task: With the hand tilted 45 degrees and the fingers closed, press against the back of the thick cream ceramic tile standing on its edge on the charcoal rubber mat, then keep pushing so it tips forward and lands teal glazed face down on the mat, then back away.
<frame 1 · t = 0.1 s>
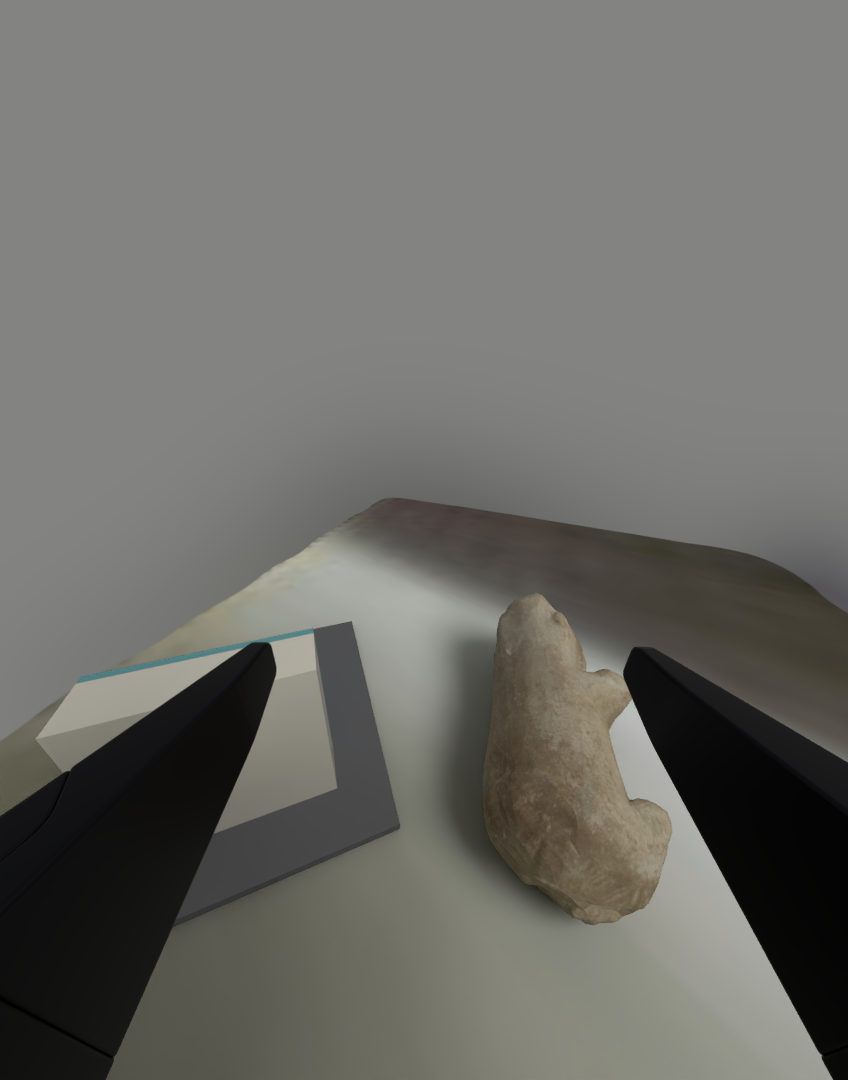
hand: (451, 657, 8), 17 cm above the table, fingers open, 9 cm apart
mat: (259, 728, 23), on the table
sculpture: (545, 753, 22), on the table
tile: (248, 792, 19), resting on mat
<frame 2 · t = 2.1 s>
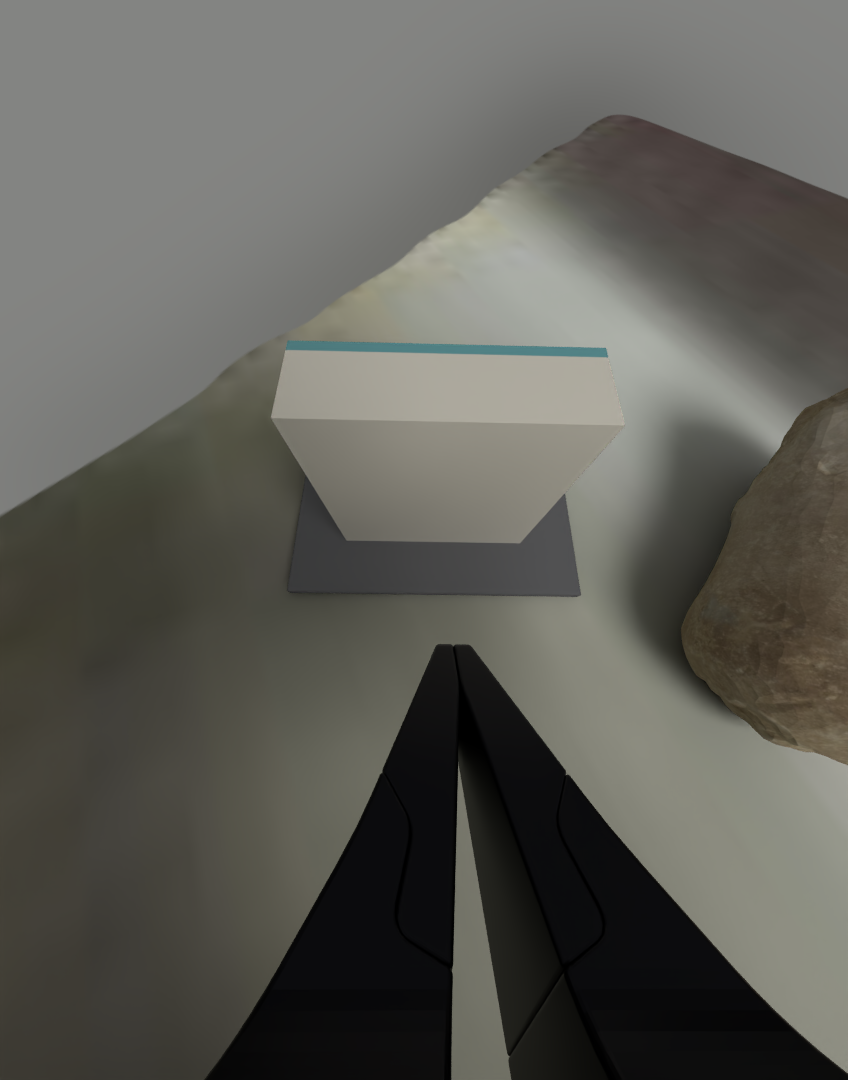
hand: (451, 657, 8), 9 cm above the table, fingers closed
mat: (434, 457, 21), on the table
sculpture: (751, 584, 19), on the table
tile: (433, 518, 19), resting on mat
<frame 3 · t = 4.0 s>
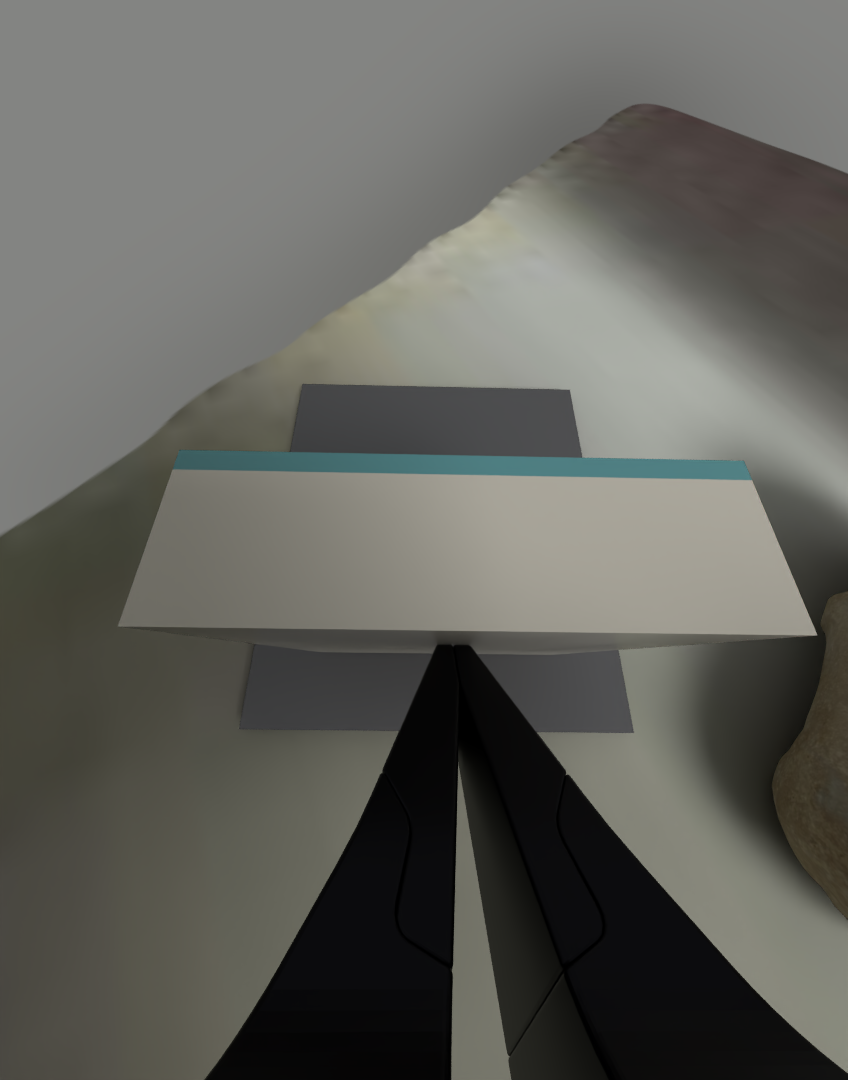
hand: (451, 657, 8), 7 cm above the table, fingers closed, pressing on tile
mat: (436, 529, 16), on the table
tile: (435, 618, 14), point 1 cm above the table, touching gripper, mat
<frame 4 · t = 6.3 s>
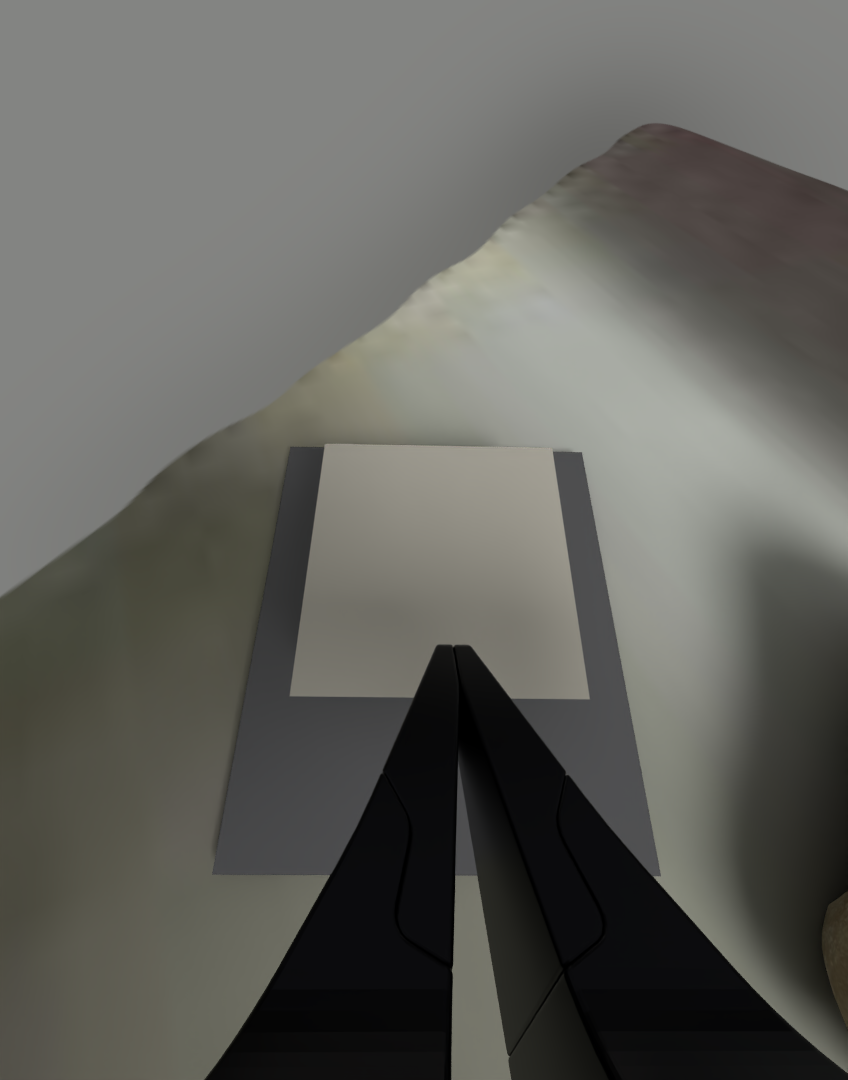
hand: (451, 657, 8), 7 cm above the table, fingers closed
mat: (436, 618, 15), on the table
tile: (437, 692, 12), point 2 cm above the table, tilted 90°, touching mat
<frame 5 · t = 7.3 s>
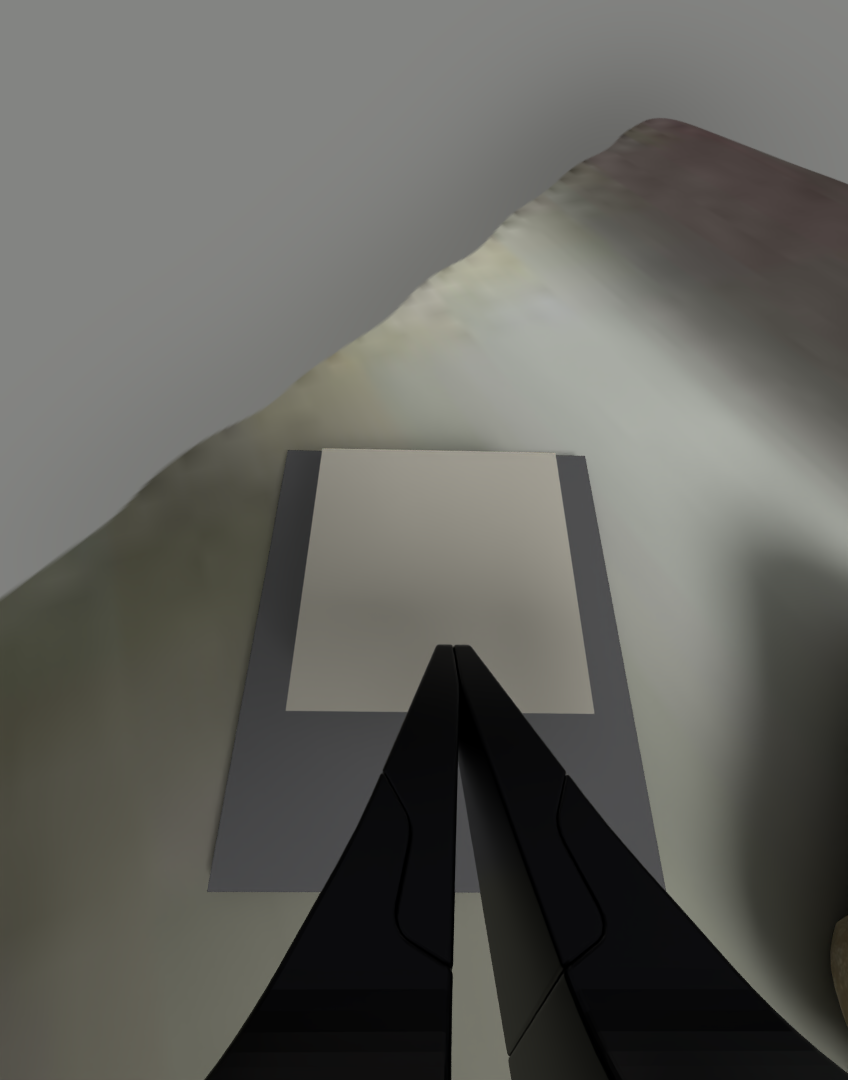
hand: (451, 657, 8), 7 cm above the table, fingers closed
mat: (437, 626, 15), on the table
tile: (438, 705, 12), point 2 cm above the table, tilted 90°, touching mat
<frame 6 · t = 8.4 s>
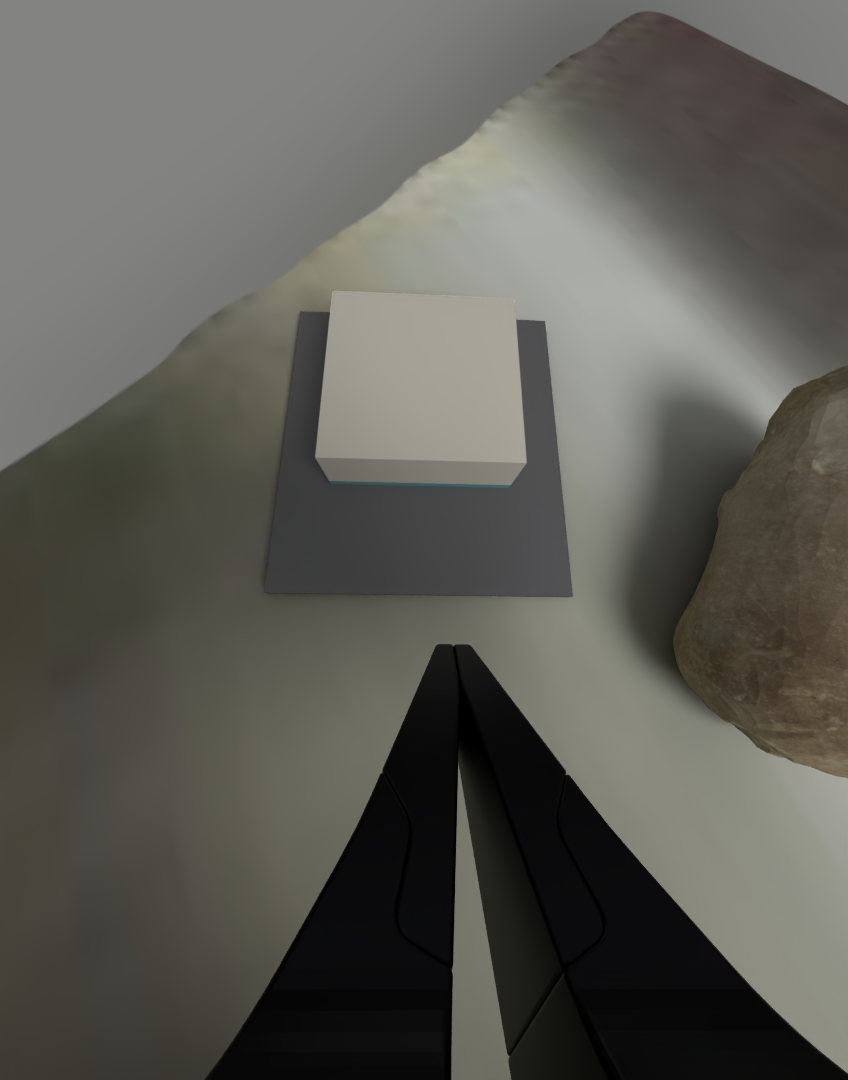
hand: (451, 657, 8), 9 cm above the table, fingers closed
mat: (422, 443, 19), on the table
sculpture: (738, 576, 18), on the table
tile: (421, 474, 17), point 2 cm above the table, tilted 90°, touching mat
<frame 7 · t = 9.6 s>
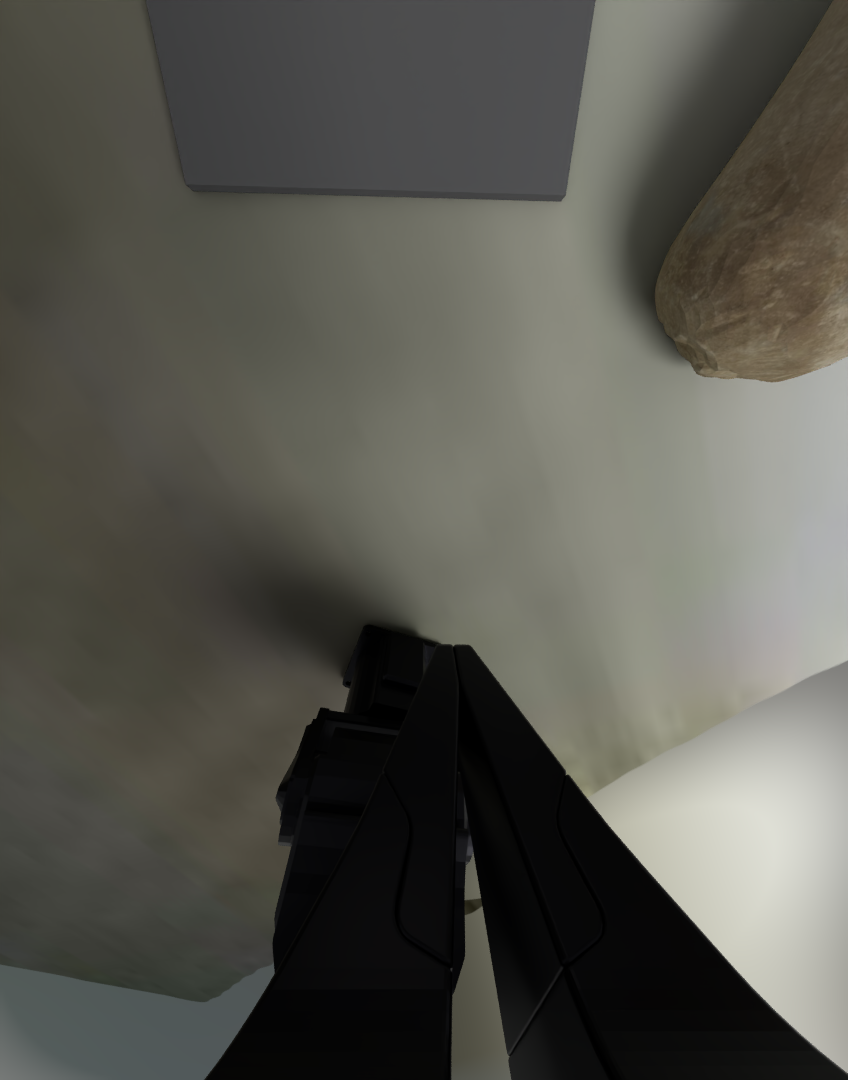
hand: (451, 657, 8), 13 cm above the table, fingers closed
sculpture: (794, 169, 14), on the table
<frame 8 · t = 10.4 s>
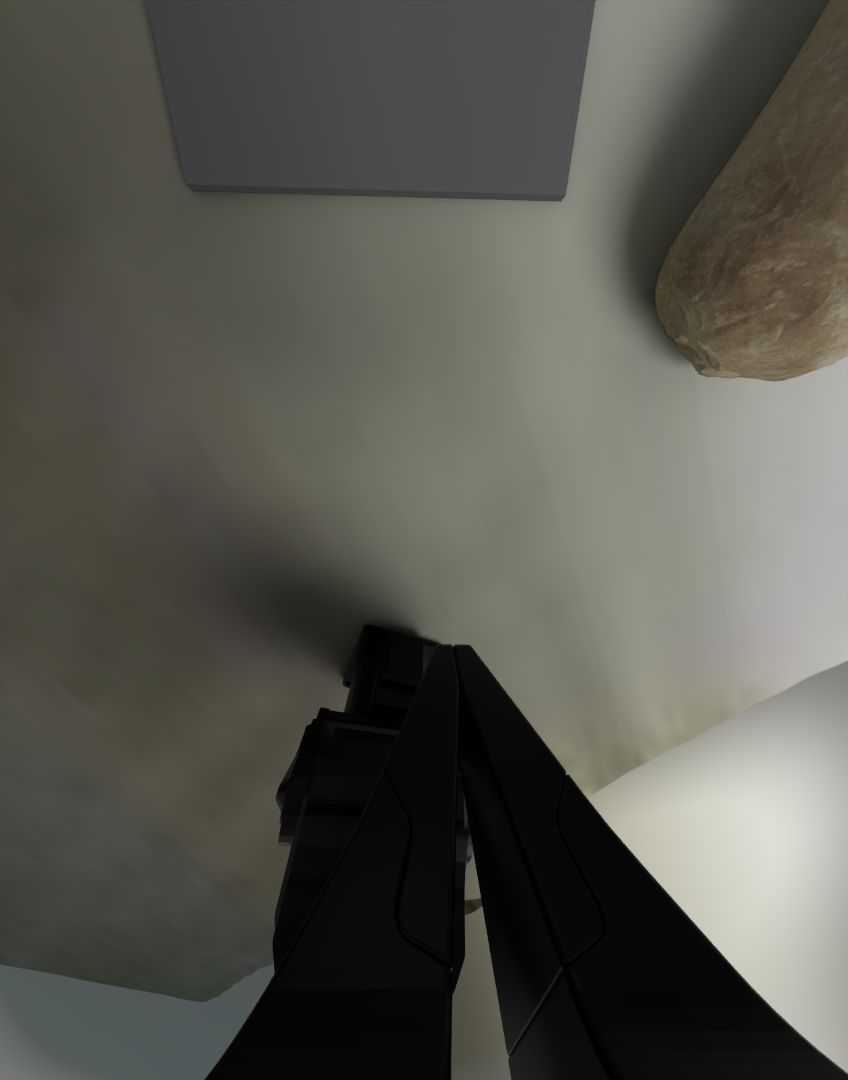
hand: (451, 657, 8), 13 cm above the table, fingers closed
sculpture: (793, 168, 14), on the table
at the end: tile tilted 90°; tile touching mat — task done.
